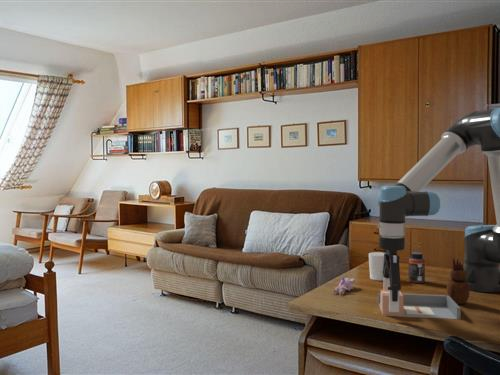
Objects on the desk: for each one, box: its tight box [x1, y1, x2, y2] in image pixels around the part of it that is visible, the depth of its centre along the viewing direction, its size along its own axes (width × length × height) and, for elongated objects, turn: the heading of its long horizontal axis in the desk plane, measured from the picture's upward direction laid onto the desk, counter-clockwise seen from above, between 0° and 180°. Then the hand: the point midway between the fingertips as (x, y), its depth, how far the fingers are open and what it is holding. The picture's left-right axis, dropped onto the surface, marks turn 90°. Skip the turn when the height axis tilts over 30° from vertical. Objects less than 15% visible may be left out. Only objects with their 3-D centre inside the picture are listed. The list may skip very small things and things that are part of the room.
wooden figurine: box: [446, 257, 471, 305], centre depth 147 cm, size 7×6×15 cm
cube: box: [379, 289, 404, 317], centre depth 138 cm, size 6×6×6 cm
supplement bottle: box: [408, 251, 426, 284], centre depth 174 cm, size 6×6×11 cm
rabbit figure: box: [332, 277, 356, 297], centre depth 162 cm, size 6×6×15 cm
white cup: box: [368, 251, 385, 282], centre depth 179 cm, size 8×8×10 cm
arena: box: [377, 292, 462, 320], centre depth 139 cm, size 22×13×4 cm, turn 80°
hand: (390, 304), depth 138 cm, fingers open, 13 cm apart
